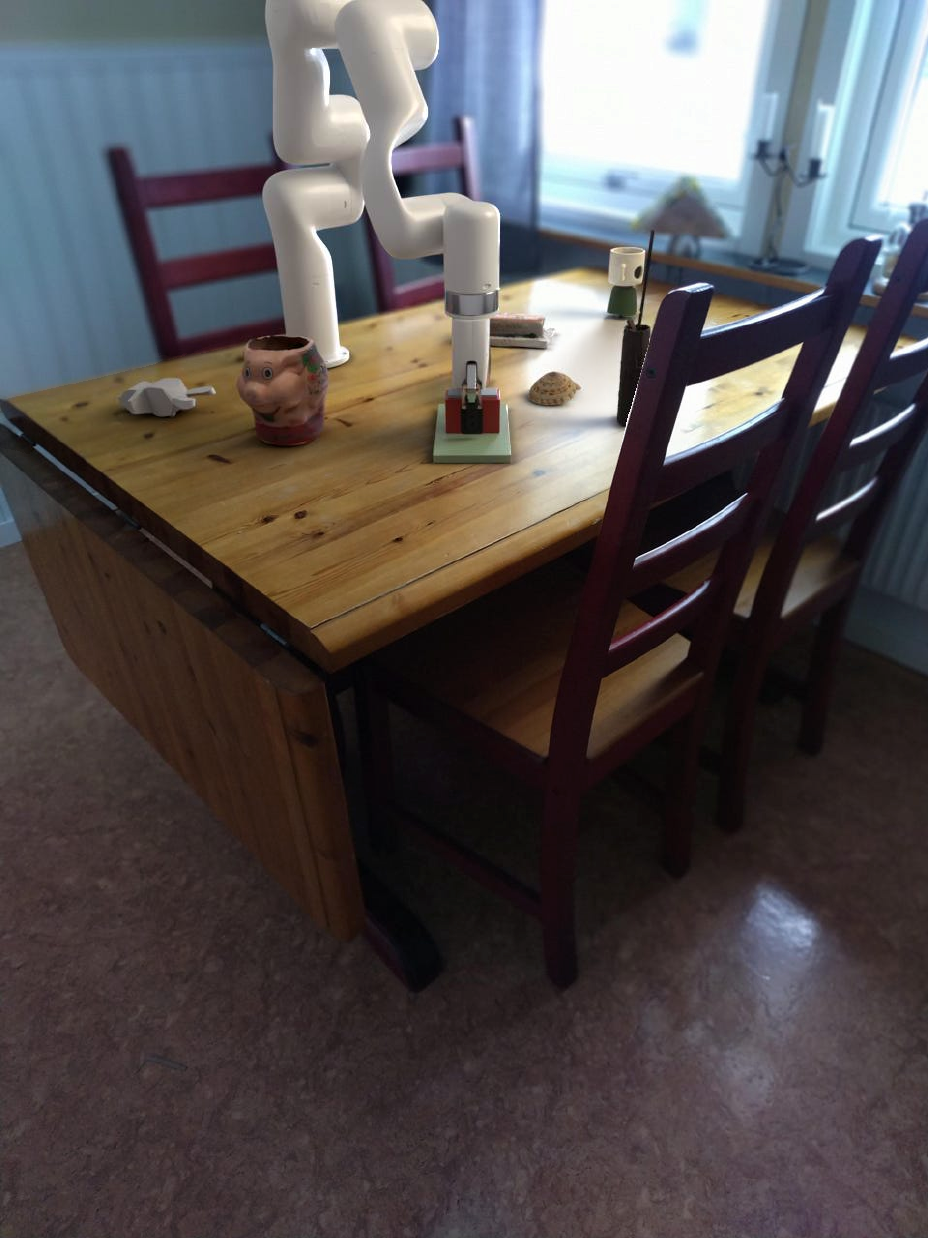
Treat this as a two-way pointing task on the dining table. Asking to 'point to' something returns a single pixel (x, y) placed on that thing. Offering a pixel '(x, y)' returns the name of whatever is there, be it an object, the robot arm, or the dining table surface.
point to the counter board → (472, 443)
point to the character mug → (625, 279)
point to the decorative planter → (284, 388)
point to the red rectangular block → (488, 402)
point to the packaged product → (519, 331)
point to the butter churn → (633, 353)
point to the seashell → (553, 389)
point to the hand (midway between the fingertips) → (472, 421)
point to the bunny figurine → (161, 397)
